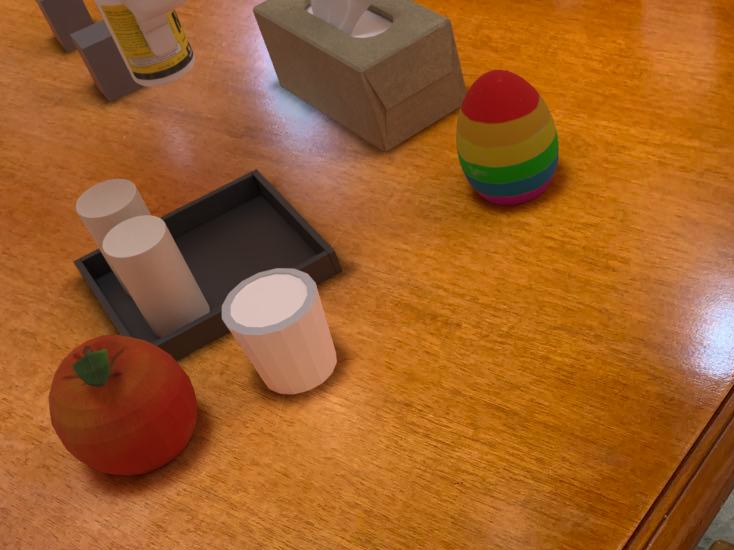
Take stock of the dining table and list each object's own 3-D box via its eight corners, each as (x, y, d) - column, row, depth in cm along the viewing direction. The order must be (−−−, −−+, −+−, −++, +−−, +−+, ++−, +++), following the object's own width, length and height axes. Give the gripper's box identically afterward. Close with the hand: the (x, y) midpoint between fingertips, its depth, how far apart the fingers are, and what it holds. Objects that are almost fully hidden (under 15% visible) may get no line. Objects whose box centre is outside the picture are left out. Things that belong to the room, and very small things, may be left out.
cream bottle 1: (136, 307, 83) (86, 226, 77) (116, 279, 86) (67, 198, 79) (189, 279, 84) (144, 197, 78) (168, 252, 87) (123, 170, 81)
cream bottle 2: (164, 348, 80) (114, 266, 73) (142, 317, 82) (93, 235, 76) (219, 318, 81) (175, 235, 74) (196, 289, 83) (152, 206, 77)
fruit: (194, 378, 78) (133, 274, 70) (232, 457, 73) (170, 354, 65) (75, 434, 76) (-2, 334, 68) (104, 519, 71) (24, 421, 63)
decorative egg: (491, 230, 83) (465, 118, 75) (453, 181, 88) (425, 70, 80) (580, 192, 84) (565, 78, 76) (538, 145, 89) (519, 33, 81)
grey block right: (111, 105, 104) (81, 48, 99) (99, 90, 106) (69, 34, 102) (147, 89, 105) (119, 31, 100) (134, 74, 107) (106, 17, 103)
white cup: (239, 377, 77) (201, 306, 72) (310, 326, 80) (279, 253, 74) (292, 419, 74) (256, 348, 68) (365, 364, 76) (336, 291, 70)
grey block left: (69, 56, 112) (40, 1, 107) (58, 43, 114) (29, -12, 109) (103, 40, 113) (75, -15, 108) (91, 28, 115) (64, -27, 110)
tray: (150, 381, 79) (135, 357, 76) (88, 285, 87) (72, 261, 85) (344, 276, 83) (334, 250, 80) (267, 194, 91) (256, 168, 89)
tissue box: (472, 105, 94) (432, -78, 82) (388, 157, 91) (333, -24, 79) (359, 43, 104) (307, -129, 92) (279, 88, 101) (215, -84, 89)
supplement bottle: (208, 66, 74) (156, -56, 67) (151, 96, 73) (92, -25, 66) (178, 45, 76) (125, -75, 70) (123, 74, 75) (63, -45, 68)
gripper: (-50, -211, 66) (62, 3, 77) (43, -129, 55) (158, 108, 66) (41, -246, 68) (138, -30, 79) (150, -173, 56) (245, 67, 67)
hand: (148, 34), depth 72 cm, fingers closed on supplement bottle, 5 cm apart
